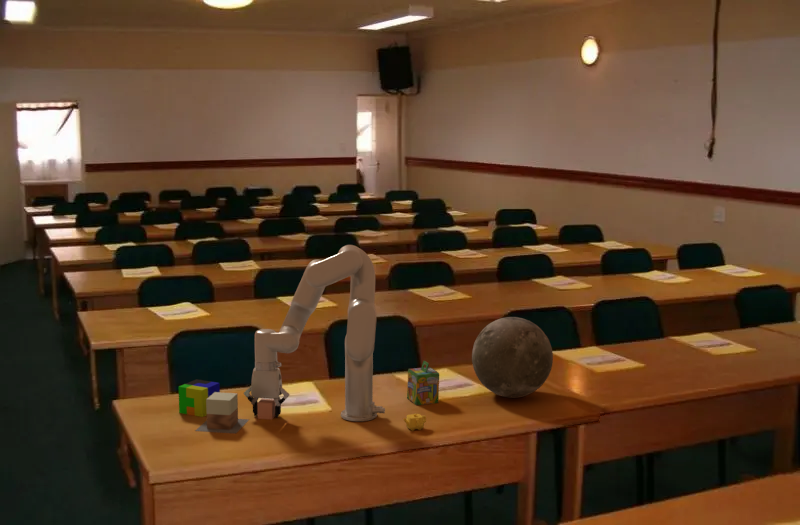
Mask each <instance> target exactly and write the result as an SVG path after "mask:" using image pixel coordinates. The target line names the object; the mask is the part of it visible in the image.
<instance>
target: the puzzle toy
mask: <svg viewBox="0 0 800 525" xmlns="http://www.w3.org/2000/svg"><path fill="white" fill-rule="evenodd" d="M220 385H221V384H220V382H216V381H209V380H203V379H197V378H196V379H194V380H191V381H189V382H187V383H184V384H182V385H179V386H178V388H177V389H178V411H179V414H183V415H189V416H195V417H200V418H204V417H205V416H206V417H207V408H206V399H207V398H208V397H210V396H211V395H212V394H213V393H214V392H221V391H220V390H221V388H220Z"/></svg>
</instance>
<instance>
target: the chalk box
mask: <svg viewBox="0 0 800 525" xmlns="http://www.w3.org/2000/svg"><path fill="white" fill-rule="evenodd" d="M429 365H430V363H429V362H427V361H426V360H423V362H422V365H421V367H417V368H415V367H414V368H408V370H407V390H406V392H407V393H406V399H408V400H409V401H410V402H411V403H413V404H414V405H415V406H422V405H431V404H439V394H440V392H439V391H440V373H439V371H437V370H435V368H432V367H430V366H429Z"/></svg>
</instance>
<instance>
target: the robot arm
mask: <svg viewBox="0 0 800 525" xmlns="http://www.w3.org/2000/svg"><path fill="white" fill-rule="evenodd" d="M302 274H303V275H302V277H301V280H300V282H299V283H298V285H297V288H296V291H295V292H294V295H293V297H292V300H291V303H290V306H289V309H288V311H287V312H286V316H285V318H284V319H283V320H284V321H283V322H282V325H281V327H280V329H279V332H277V331H276V330H275V329H271V328H261V329H258V330H256V331H255V333H254V368H253V370H252V375H251V383H250V384H251V385H250V387H249V388H247V389H246V390H245V391H244V392H243V394H244V396H245V397H246V398H247V400H248V401H249V402H250V403H251V405H252V413H253V415H254V417H256V416H257V417H258V404H257V403H258V402H259V401H258V400H259V399H274V401H275V403H276V406H275V416H274V417H275V418H278V417H279V416H280V415H281V414H282V407H281V406H282V404H283V403H284V402H285V401H286V400H287V399H288V397H289V396H290V393H289V392H288V391H287V390H286V389H285V388H283V382H282V374H281V369H280V368H279V367H282V362H279V361H278V353H282V354H291V353H293V352H296V351H297V349H298V347H299V344H300V340H301V336H302V333H303V332H304V329H305V327H306V324H307V322H308V320H309V319H310V317H311V315H312V314H313V313H314V312H315V311H316V309H317V306H318V304H319V303H320V302H319V301H320V300H321V297H322V295H323V293H324V291H325V288H326V287H327V286H330V285H332V284H335V283H337V282H339V281H341V280H344V279H346V278H348V277H350V284H349V285H350V287H349V288H350V292H349V302H348V307H347V326H346V335H345V338H344V357H345V360H344V363H345V364H344V368H345V369H344V370H345V371H344V378H345V379H344V385H345V386H344V407H345V408H344V409H343V410H342V411H341V412H340V417H341V418H342V419H343V420H344V421H345V420H346V421H349V422H367V421H372V420H374V419H376V418H377V417H378V414H386V413H385V412H386V408H385V407H383V406H382V405H381V406H380V405H378V406H377V405H376V404H375V401H373V399H374V398H373V390H374V389H373V388H374V387H373V386H374V384H373V383H374V382H373V381H374V380H373V378H374V377H373V375H374V374H373V373H374V370H373V369H374V364H373V363H374V360H373V359H374V357H373V356H374V355H373V353H374V351H375V342H376V330H377V329H376V328H377V310H376V306H375V298H376V270H375V267H374V264H373V261H372V259H371V257H370V256H369V255H368V254H367V253H366V252H365V251H364V250H363V249H362V248H359V247H358V246H356V245H353V244H346V245H344V246H342V247H341V248H340V249H339V250H338V252H337V254H334V255H332V256H330V257H326V258H325V259H320V258H319V259H316V258H315V259H313V260H311V261H310V262H309V263H308V264H307V266H306V268H305V269H304V272H303V273H302ZM281 395H283V396H282V397H280V396H281Z"/></svg>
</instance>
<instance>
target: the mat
mask: <svg viewBox="0 0 800 525" xmlns="http://www.w3.org/2000/svg"><path fill="white" fill-rule="evenodd" d="M249 421H250V419H249V418H248V419H247V418H246V419H245V418H238V422H237V423H236V424H235V425H234V426H233V427H232V428H231V429H230V430H226V429H210V428H207V419H206V421H203V423H202V424H201V425H200V426H199V427H197V428H196V429H195V430H194V431H195V432H204V433H220V434H221V433H222V434H237V433H238V432H240V430H241V429H242V428H243V427H244V426H245V425H246V424H248V422H249Z"/></svg>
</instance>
